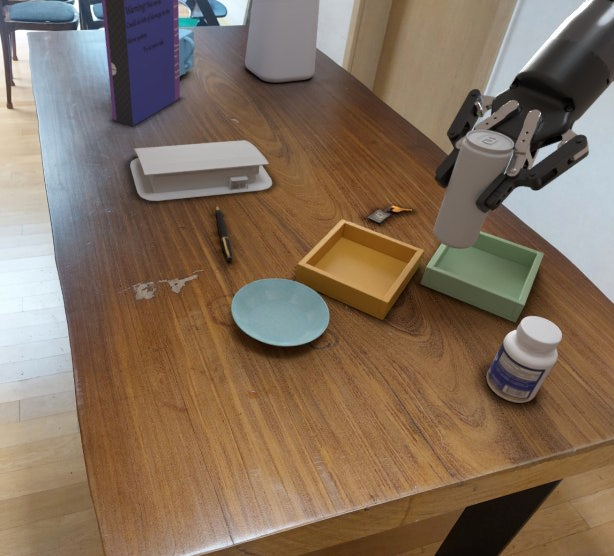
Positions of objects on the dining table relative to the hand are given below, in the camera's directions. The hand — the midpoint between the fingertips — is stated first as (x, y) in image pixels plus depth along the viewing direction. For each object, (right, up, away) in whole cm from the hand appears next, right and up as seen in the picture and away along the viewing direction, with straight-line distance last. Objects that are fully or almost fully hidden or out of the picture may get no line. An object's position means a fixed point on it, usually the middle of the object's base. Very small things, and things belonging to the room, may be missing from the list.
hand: (459, 195), depth 56 cm
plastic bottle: (-14, +43, +80) cm, 92 cm away
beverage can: (+1, -4, +5) cm, 7 cm away
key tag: (+1, +1, +30) cm, 30 cm away
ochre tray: (-7, -8, +18) cm, 21 cm away
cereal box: (-43, +27, +58) cm, 76 cm away
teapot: (-42, +40, +74) cm, 94 cm away
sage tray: (+10, -8, +19) cm, 24 cm away
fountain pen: (-26, -3, +24) cm, 35 cm away
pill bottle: (+7, -21, +4) cm, 23 cm away
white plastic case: (-30, +9, +38) cm, 49 cm away
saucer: (-18, -14, +10) cm, 25 cm away
